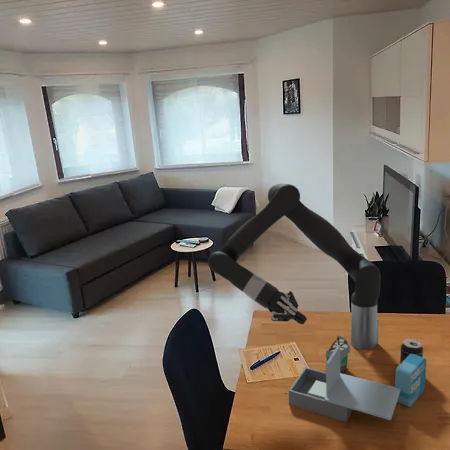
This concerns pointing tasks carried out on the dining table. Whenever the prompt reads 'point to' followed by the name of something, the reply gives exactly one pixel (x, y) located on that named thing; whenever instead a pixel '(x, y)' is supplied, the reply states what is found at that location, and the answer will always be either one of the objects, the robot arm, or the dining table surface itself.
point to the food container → (343, 352)
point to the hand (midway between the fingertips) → (305, 321)
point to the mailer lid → (358, 391)
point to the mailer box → (315, 395)
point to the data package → (410, 379)
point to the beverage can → (410, 349)
